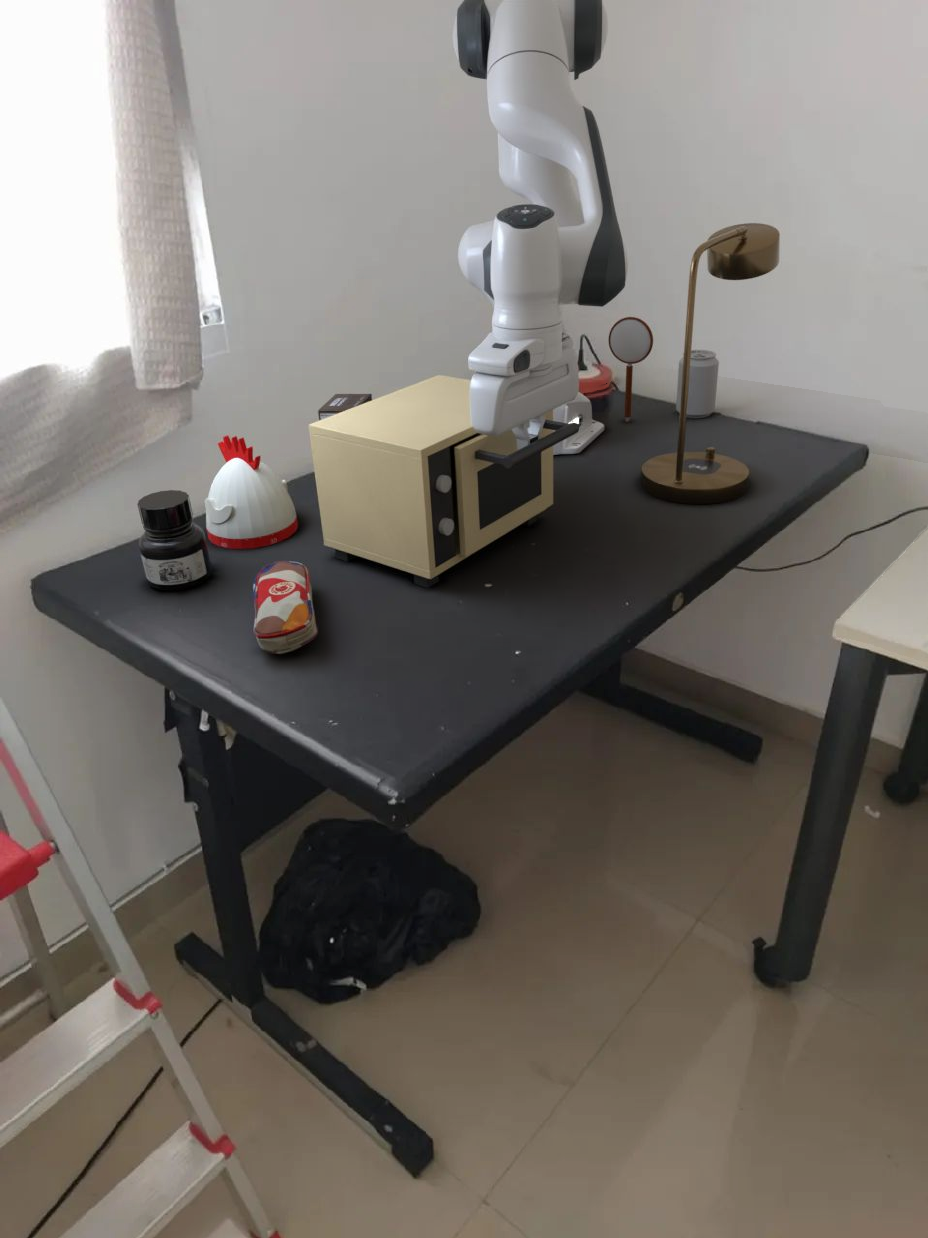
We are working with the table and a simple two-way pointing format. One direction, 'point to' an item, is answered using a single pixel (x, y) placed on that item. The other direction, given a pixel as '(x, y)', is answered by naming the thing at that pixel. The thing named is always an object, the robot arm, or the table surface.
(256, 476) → the kitchen timer
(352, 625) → the table surface
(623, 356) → the magnifying glass
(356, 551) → the oven
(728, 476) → the lamp
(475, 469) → the oven door
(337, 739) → the table surface
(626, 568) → the table surface
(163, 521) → the ink bottle
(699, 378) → the can
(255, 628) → the pencil case
